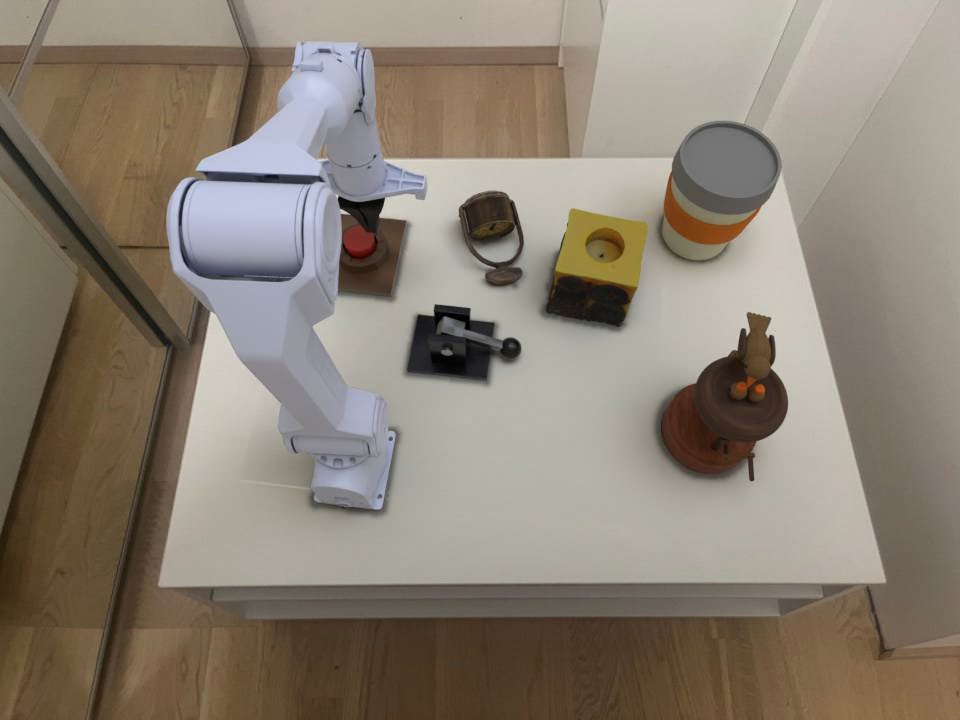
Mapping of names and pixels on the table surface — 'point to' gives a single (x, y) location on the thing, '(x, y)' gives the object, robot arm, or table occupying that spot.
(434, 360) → the bracket
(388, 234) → the button block
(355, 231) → the button
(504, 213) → the brown desk clock
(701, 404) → the music box
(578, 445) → the table surface
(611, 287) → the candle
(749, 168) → the reusable coffee cup
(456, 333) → the lever
